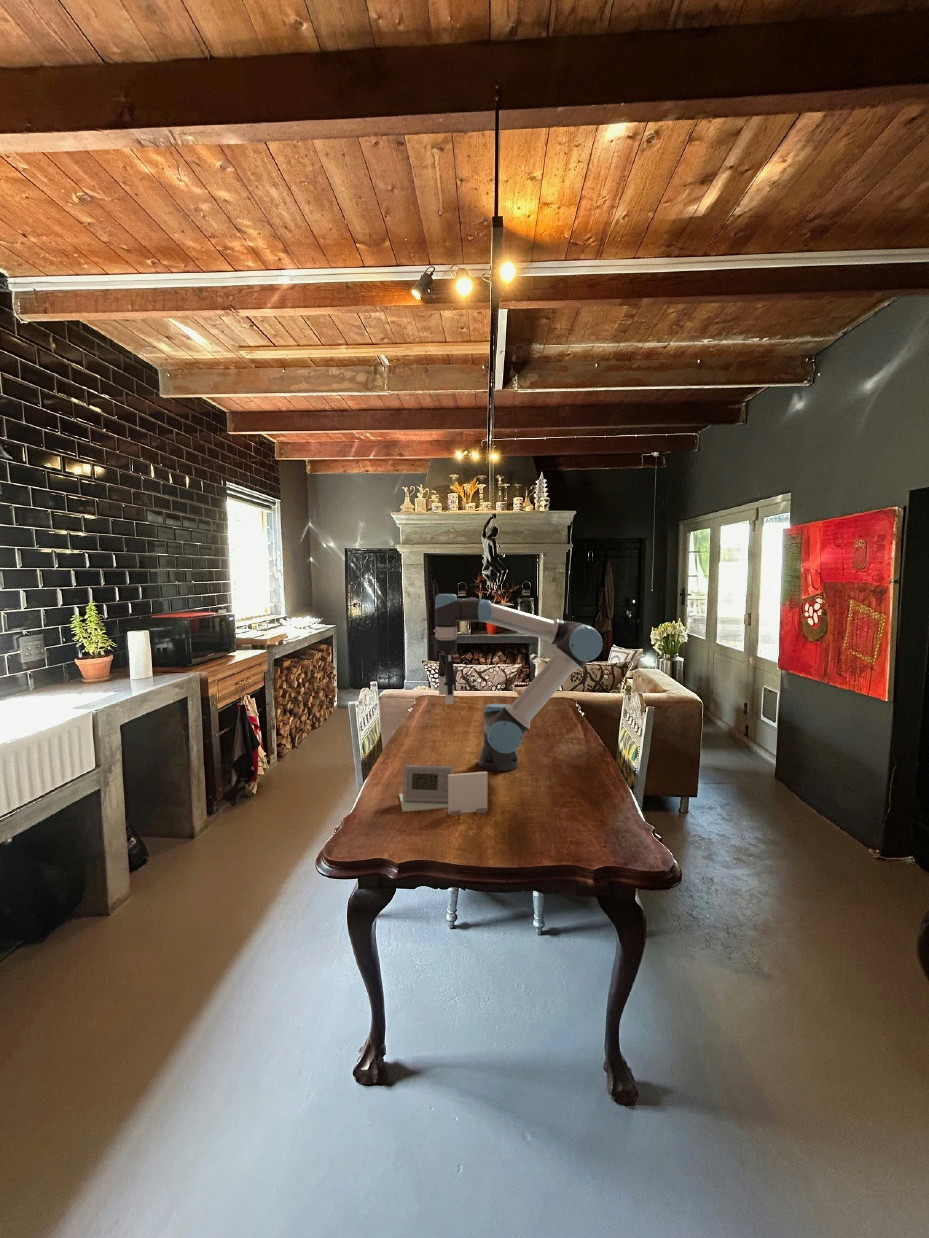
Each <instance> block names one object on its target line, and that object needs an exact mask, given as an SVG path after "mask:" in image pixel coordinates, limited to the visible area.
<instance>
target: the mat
mask: <svg viewBox="0 0 929 1238" xmlns="http://www.w3.org/2000/svg"><path fill="white" fill-rule="evenodd" d="M398 796H399V802H400V806H401V810H402V811H401V812H416V811H427V810H438V809H448V802H442V803H421V802H414V801H404V800H403V793H399V794H398Z"/></svg>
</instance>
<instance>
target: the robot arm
mask: <svg viewBox="0 0 929 1238" xmlns="http://www.w3.org/2000/svg"><path fill="white" fill-rule="evenodd" d="M434 599H435V600H434V601H435V605H434V621H435V622H434V624H435V625H434V626H435V629H433V633H435V634H434V635H435V638H436V639H435V640H434V642H435V643H434V649H435V650H436V651H437V652H438V653H439V654H438V655H439V657H438V669H437V674H438V695H439V696H445V705H453V704H455V703H454V702H455V700H454V699H455V698H454V694H455V693H454V692H455V691H454V689H455V688H454V687H455V684H456V679H455V668H454V666H455V665H454V655H453V654H452V653H451V652H452V651H453V652H454V651H457V649H458V639H456V638H458V623H457V622H480V623H487V624H491V625H494V626H497V627H502V628H505V629H507V630H511V631H515V632H518V633H522V634H525V635H529V636H532V637H536V638H538V639H539V638H540V639H541V640H546V641H547V642H548V644H550V645H554V646H555V653H554V655H553V656H552V657H551V658H550V659H549V660H548V662H547V663H546V664H545V666H543V668H542V669H541V670H540V671H539V672H538V674H537V675H535V677H534V678H533V679H532V680H531V682H530V683H529V684H528V685H527V686H526V687H525V689H523V690H522V692H521V693H520V694H519V696H518V697H517V698H516V699H515V700H514V701H513V703H512V704H507V703H492V704H491V703H490V704H486V705H484V707H483V711H482V712H483V713H482V714H483V744H482V747H481V751H480V753H479V757H478V766H479V767H481V768H482V769H485V770H488V771H492V772H493V771H494V772H507V771H512V770H514V769H517V768H518V767H519V763H520V761H519V756H518V753H517V749H519V748H520V746H521V745H522V743H523V738H524V736H525V734H527V732H528V731H529V730H530V729H531V721H532V720H533V718H534V717H535V716H536V715H537V713H539V711H540V710H541V709H542V708H543V707H544V706H545V705H546V703H547V702H548V701H550V699H551V698H552V697H553V695H554V694H556V692H557V691H558V690H559V688H560V687H561V686H562V685H563V683H565V681H566V680H567V679H568V678H569V677H570V676H571V675H572V673H573V672H574V671H575V670H576V671H577V670H582V669H583V667H584V666H585V665H586V664H587V663H588V662H590V661H593V660H595V659H596V658H597V657H598V656H599V655H600V654H601V652H602V650H603V645H604V643H603V638H602V635H601V634H600V633H599V632H598V630H597V629H595V628H594V627H593V626H591V625H587V624H584V623H582V622H576V621H568V620H563V619H559V618H554V619H553V620H552V619H550V618H549V619H548V618H545V617H542V616H538V615H535V614H531V613H528V612H525V611H521V610H518V609H514V608H510V607H507V606H505V605H501V604H497V603H493V602H492V601H490V599H478V598H477V597H473V596H472V597H468V598H466V599H458V595H456V594H454V593H439V594H437V595H436V596H435V598H434Z"/></svg>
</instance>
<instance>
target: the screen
mask: <svg viewBox="0 0 929 1238" xmlns="http://www.w3.org/2000/svg"><path fill="white" fill-rule="evenodd" d="M487 812H488V771H477V772H465V773H464V772H463V773H454V774H448V808H447V813H448V815H450V816H451V817H454V816H455V817H456V816H461V815H462V814H467V813H476V814H478V815H479V814H487Z"/></svg>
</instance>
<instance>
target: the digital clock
mask: <svg viewBox="0 0 929 1238" xmlns="http://www.w3.org/2000/svg"><path fill="white" fill-rule="evenodd" d="M454 771H455V770H454V767H453V766H450V765H449V766H448V765H447V766H446V765H438V764H437V765H433V764H432V765H429V764H417V765H416V764H415V765H413V764H407V765H405V766H404V770H403V783H402V784H403V785H402V794H403V800H404V801H414V802H421V803H442V802H448V774H455V773H454Z"/></svg>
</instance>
